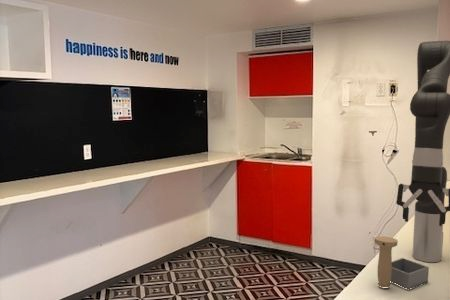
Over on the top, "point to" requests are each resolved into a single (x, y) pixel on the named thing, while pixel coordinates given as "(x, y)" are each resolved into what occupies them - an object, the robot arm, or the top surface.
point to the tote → (408, 273)
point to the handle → (385, 259)
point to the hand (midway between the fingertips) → (423, 223)
